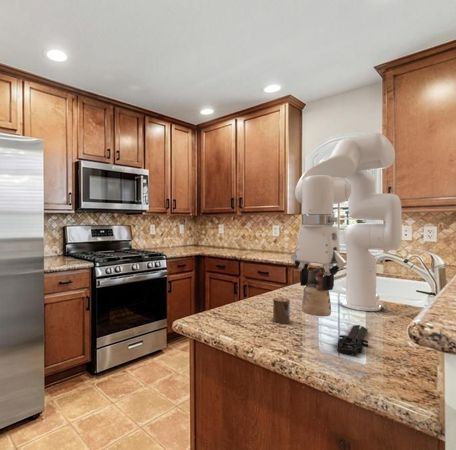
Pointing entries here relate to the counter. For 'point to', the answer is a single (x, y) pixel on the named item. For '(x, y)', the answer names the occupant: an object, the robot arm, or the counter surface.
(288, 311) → the glossy brown cylinder
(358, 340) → the dark flat slotted piece
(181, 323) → the counter surface
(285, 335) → the counter surface
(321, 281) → the figurine
